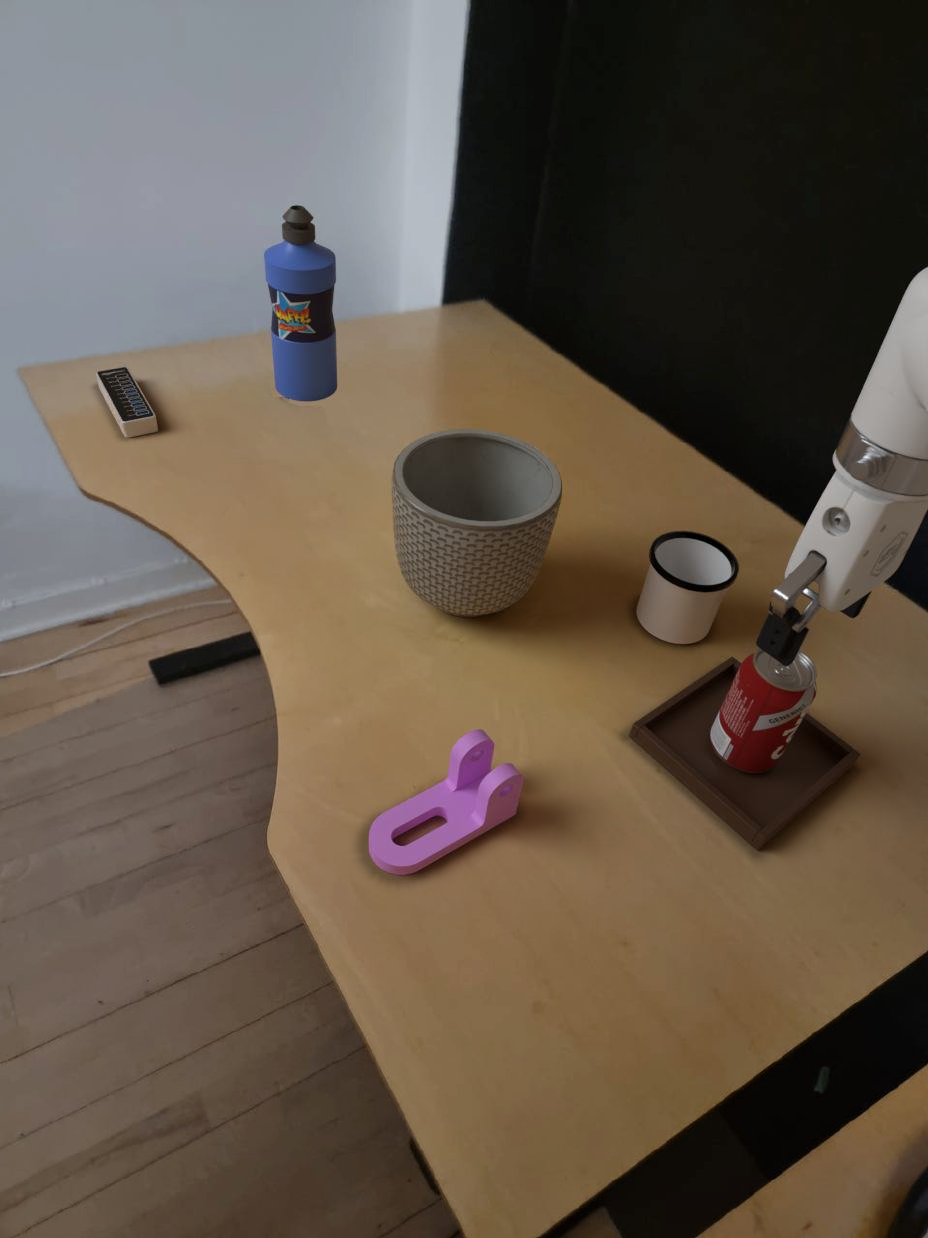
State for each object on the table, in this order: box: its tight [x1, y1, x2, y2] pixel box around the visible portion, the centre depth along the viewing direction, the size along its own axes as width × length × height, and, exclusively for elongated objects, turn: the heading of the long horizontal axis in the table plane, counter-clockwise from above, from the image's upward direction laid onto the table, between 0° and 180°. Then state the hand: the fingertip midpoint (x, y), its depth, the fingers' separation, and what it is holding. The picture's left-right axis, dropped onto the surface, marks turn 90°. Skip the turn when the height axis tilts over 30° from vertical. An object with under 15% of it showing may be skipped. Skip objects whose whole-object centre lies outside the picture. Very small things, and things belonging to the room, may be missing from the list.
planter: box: [390, 428, 563, 618], centre depth 90 cm, size 17×17×16 cm
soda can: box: [710, 647, 818, 773], centre depth 78 cm, size 7×7×12 cm
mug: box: [635, 530, 740, 645], centre depth 93 cm, size 12×10×9 cm
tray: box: [628, 656, 861, 852], centre depth 82 cm, size 16×16×2 cm
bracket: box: [368, 728, 525, 876], centre depth 71 cm, size 13×6×7 cm, turn 125°
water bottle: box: [263, 204, 338, 403], centre depth 116 cm, size 9×9×25 cm
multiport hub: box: [95, 366, 159, 439], centre depth 116 cm, size 4×14×2 cm, turn 30°
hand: (807, 630), depth 70 cm, fingers open, 9 cm apart
